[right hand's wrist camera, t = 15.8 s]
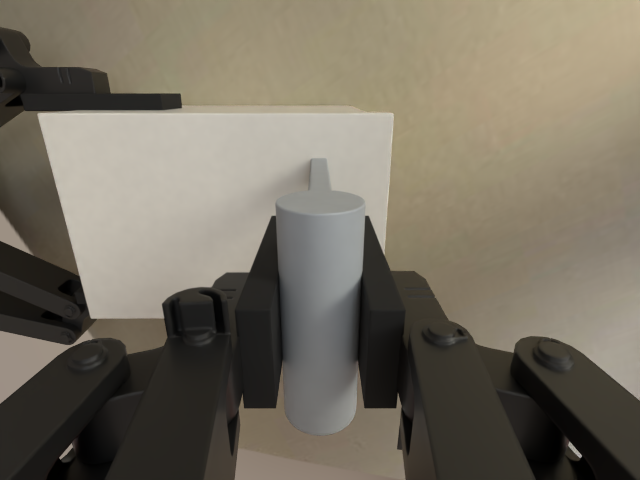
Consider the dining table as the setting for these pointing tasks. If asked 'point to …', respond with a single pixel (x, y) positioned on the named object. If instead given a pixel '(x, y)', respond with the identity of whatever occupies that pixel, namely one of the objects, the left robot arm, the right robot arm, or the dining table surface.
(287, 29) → the dining table surface
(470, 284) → the dining table surface
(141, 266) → the grey and white piece
